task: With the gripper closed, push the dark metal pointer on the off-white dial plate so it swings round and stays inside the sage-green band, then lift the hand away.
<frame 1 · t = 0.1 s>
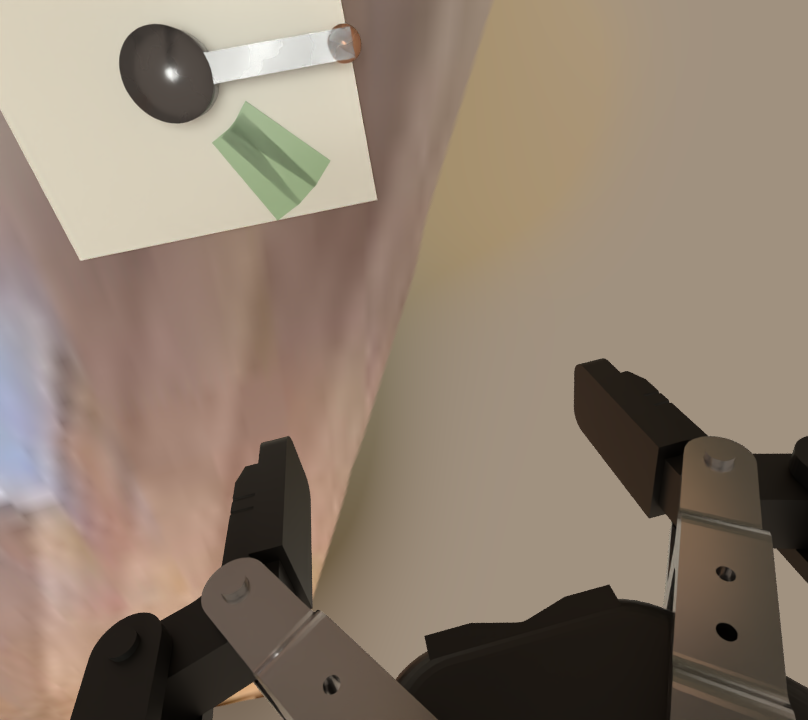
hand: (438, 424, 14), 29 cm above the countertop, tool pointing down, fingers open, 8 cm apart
dial plate: (183, 75, 33), on the countertop
dial pointer: (246, 62, 30), point 3 cm above the countertop, hinge at 0.0°
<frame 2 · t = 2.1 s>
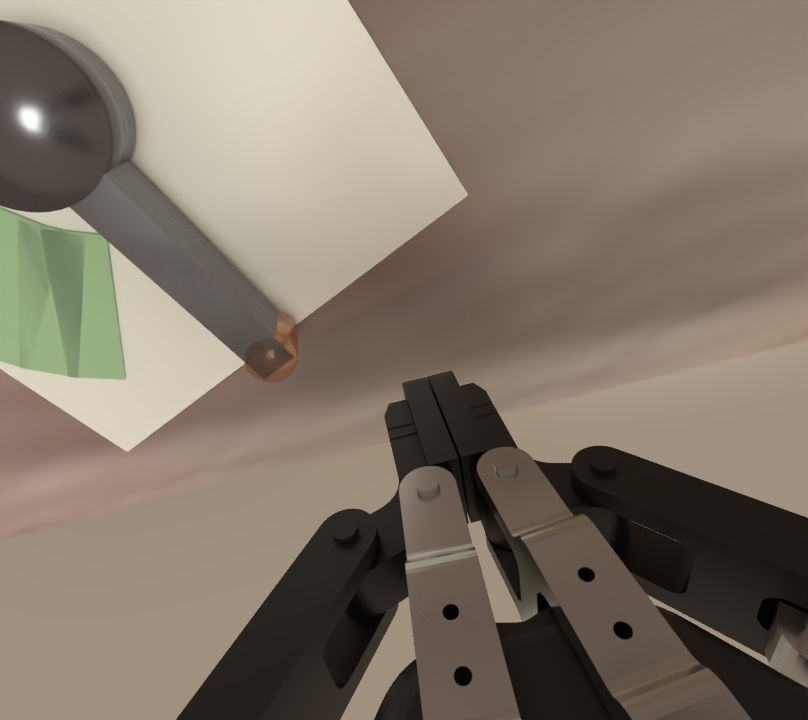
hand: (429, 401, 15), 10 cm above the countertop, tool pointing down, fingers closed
dial plate: (74, 109, 18), on the countertop
dial pointer: (153, 232, 17), point 3 cm above the countertop, hinge at 0.0°
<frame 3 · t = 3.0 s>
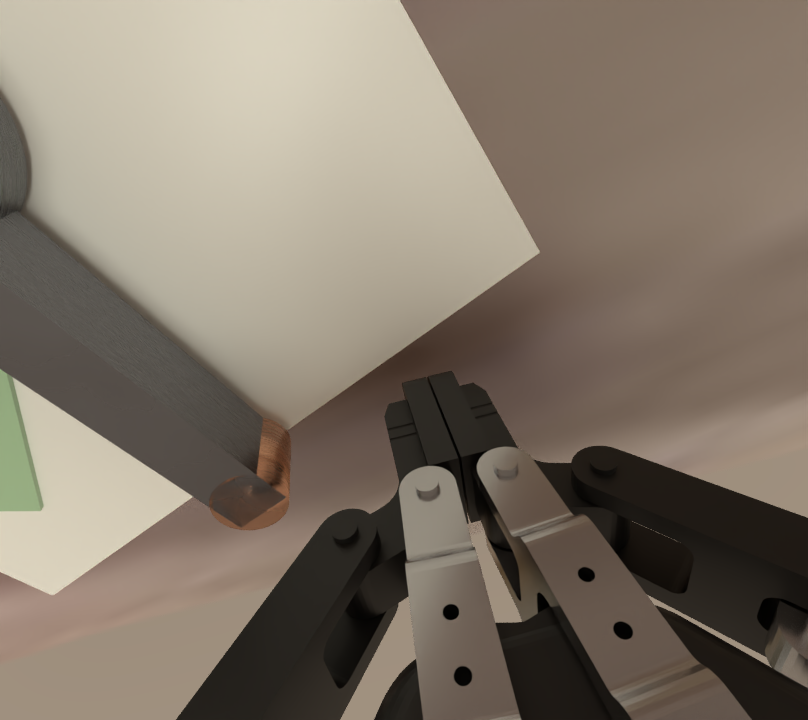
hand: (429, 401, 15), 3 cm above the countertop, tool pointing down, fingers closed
dial pointer: (58, 324, 11), point 3 cm above the countertop, hinge at 0.0°
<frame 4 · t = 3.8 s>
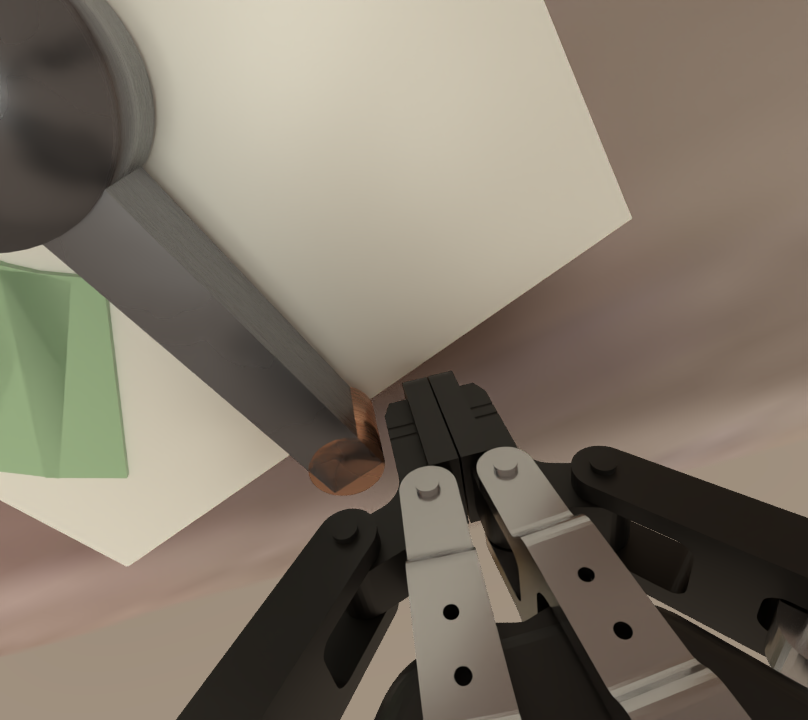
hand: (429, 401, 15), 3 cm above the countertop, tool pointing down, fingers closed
dial plate: (55, 84, 11), on the countertop
dial pointer: (179, 281, 11), point 3 cm above the countertop, hinge at 0.9°, touching gripper
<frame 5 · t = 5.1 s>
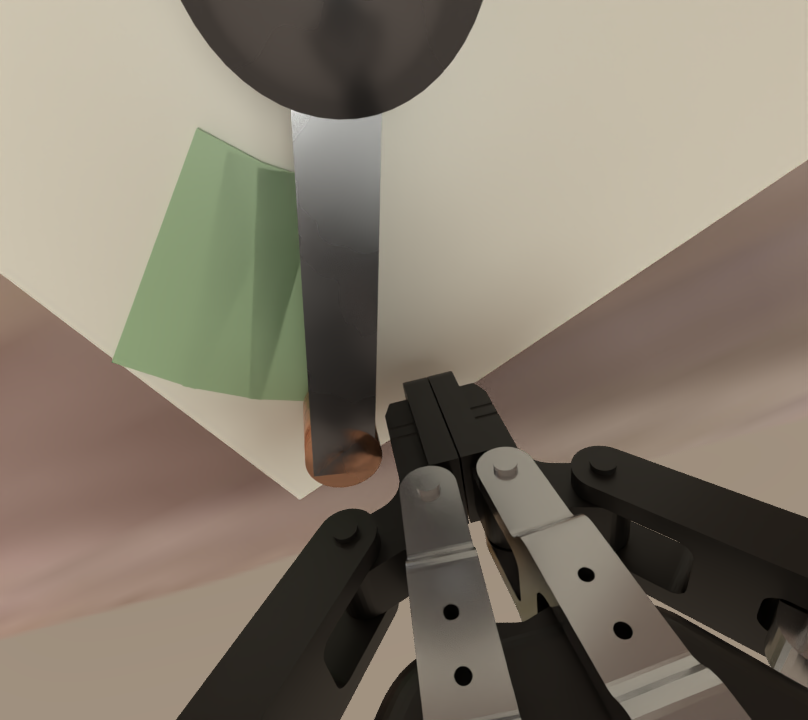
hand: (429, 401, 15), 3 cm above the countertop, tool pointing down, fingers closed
dial pointer: (334, 214, 11), point 3 cm above the countertop, hinge at 37.1°, touching gripper
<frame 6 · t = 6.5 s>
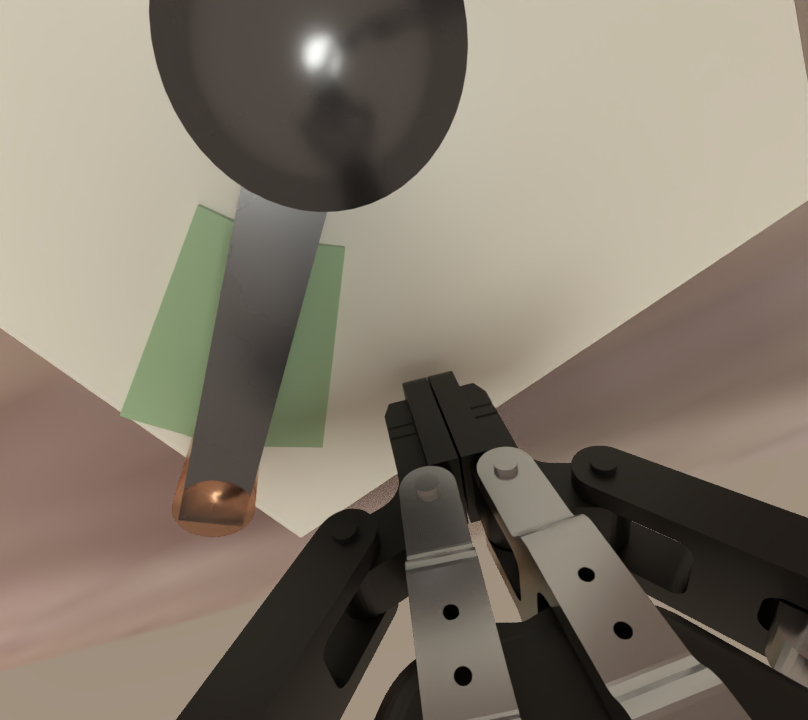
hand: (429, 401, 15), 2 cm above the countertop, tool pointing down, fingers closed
dial plate: (312, 59, 12), on the countertop
dial pointer: (265, 278, 11), point 3 cm above the countertop, hinge at 54.7°
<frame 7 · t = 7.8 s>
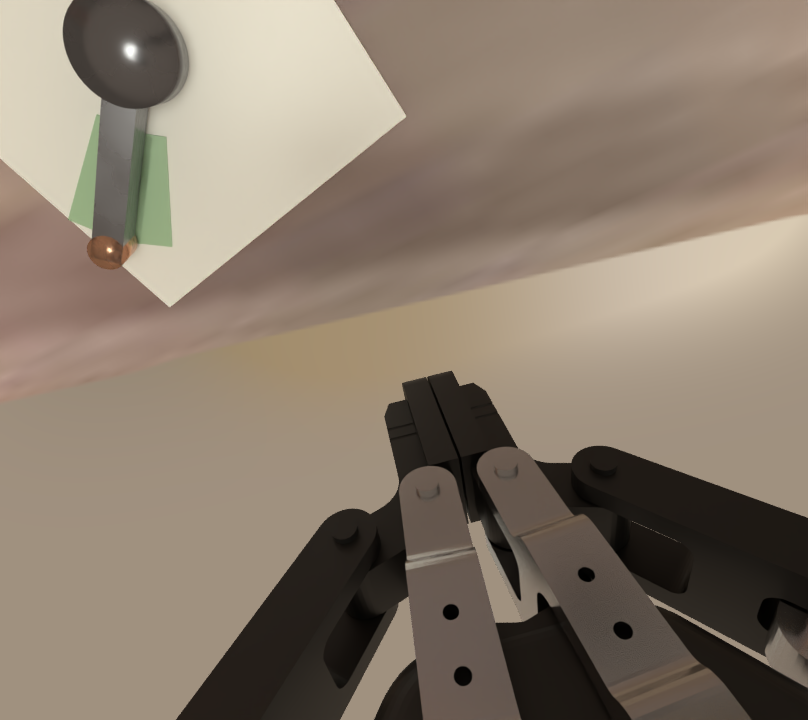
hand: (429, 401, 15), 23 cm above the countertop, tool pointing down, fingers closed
dial plate: (147, 53, 28), on the countertop
dial pointer: (122, 143, 27), point 3 cm above the countertop, hinge at 54.9°
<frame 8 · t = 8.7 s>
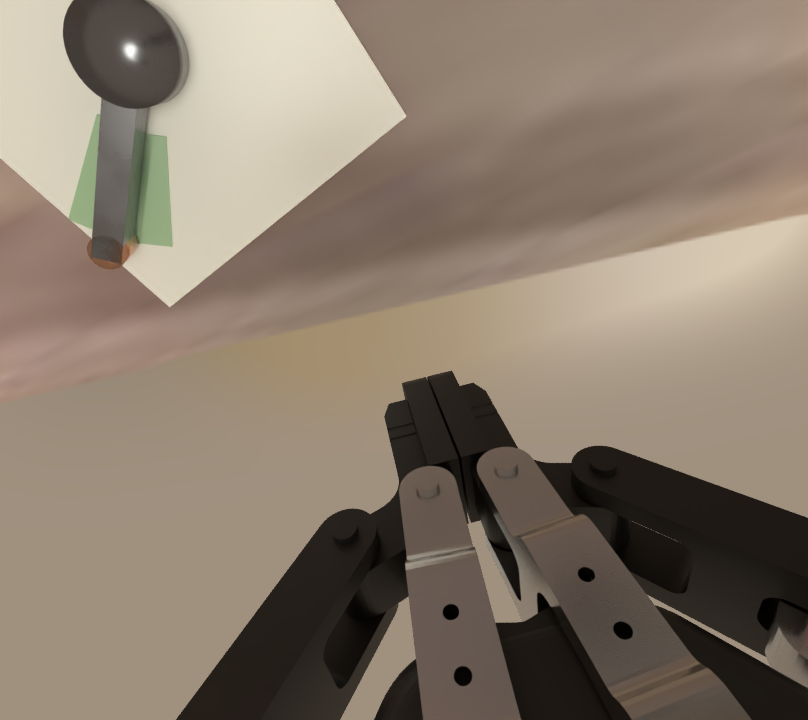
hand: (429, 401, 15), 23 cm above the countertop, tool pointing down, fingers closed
dial plate: (147, 53, 28), on the countertop
dial pointer: (122, 143, 27), point 3 cm above the countertop, hinge at 54.9°
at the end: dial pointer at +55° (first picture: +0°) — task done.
